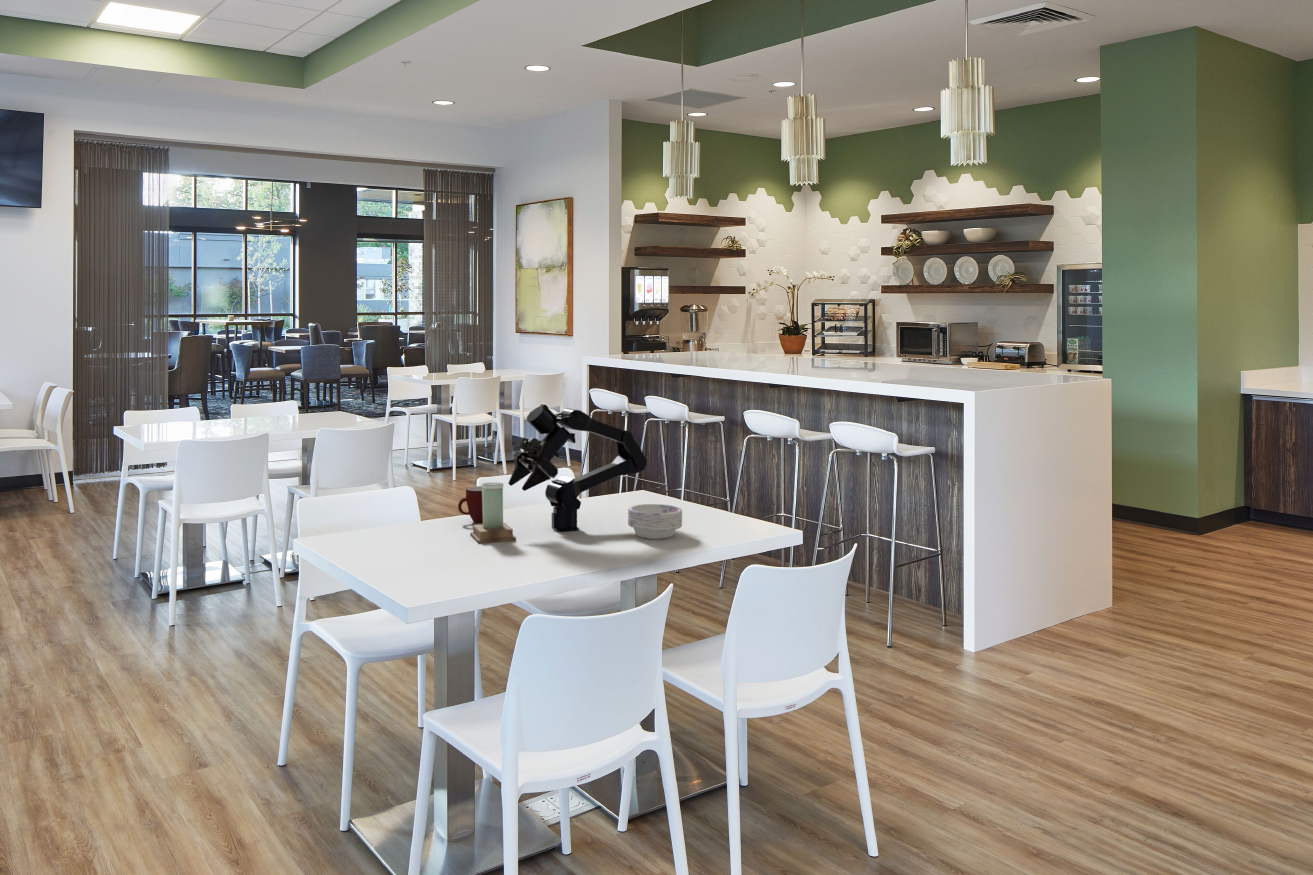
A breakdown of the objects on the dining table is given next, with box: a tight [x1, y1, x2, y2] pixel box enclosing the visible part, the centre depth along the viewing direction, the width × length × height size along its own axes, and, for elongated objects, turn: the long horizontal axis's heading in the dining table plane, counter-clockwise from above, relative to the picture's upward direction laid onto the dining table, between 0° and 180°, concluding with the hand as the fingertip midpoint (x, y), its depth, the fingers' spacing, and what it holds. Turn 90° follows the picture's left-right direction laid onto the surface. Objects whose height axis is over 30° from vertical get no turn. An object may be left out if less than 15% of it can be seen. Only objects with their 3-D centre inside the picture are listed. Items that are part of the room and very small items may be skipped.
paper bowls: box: [627, 503, 683, 540], centre depth 278 cm, size 15×15×8 cm
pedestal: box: [470, 522, 517, 544], centre depth 275 cm, size 10×10×3 cm
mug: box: [457, 485, 483, 524], centre depth 294 cm, size 11×8×10 cm
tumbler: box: [480, 481, 504, 529], centre depth 274 cm, size 6×6×12 cm
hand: (516, 487), depth 277 cm, fingers open, 9 cm apart
